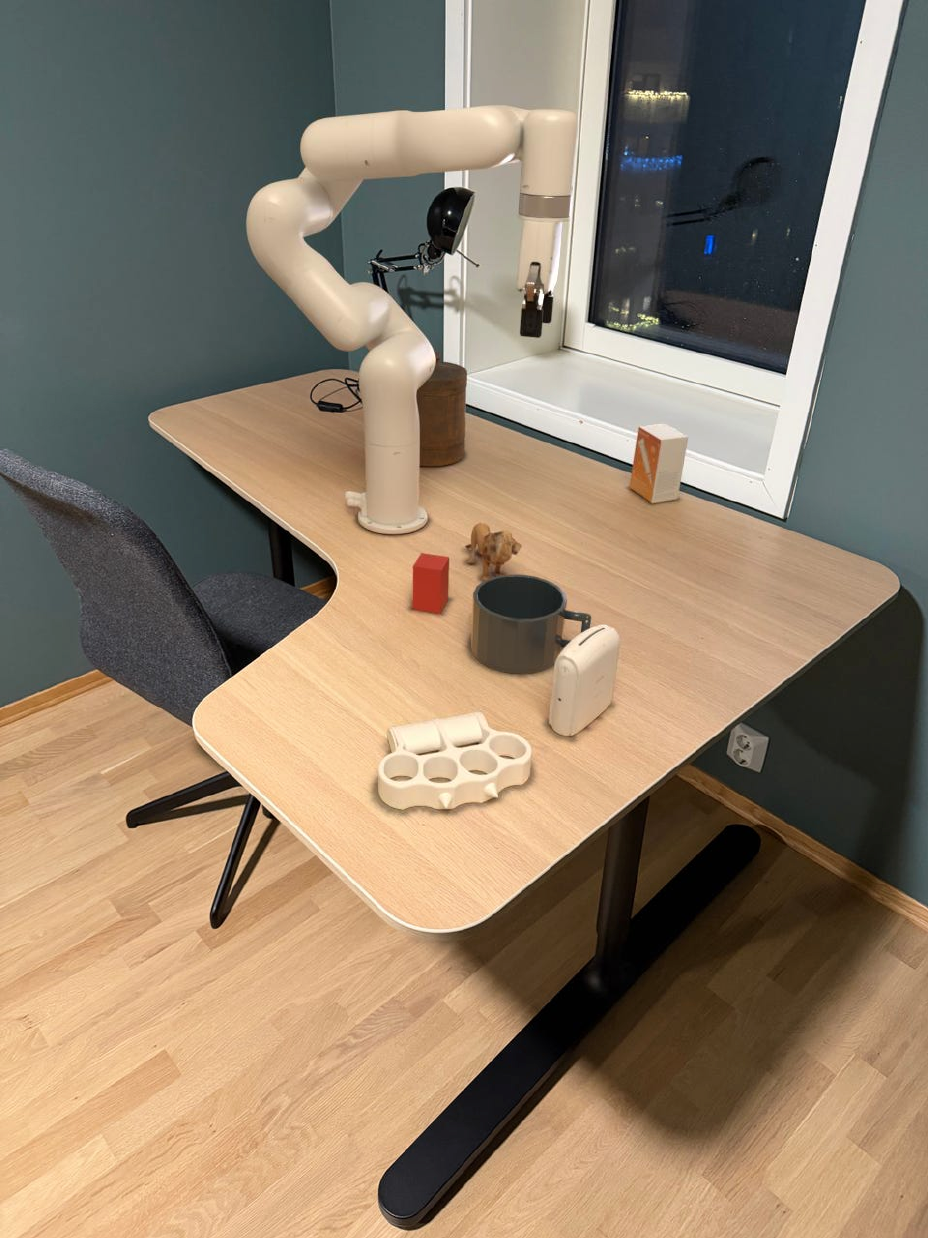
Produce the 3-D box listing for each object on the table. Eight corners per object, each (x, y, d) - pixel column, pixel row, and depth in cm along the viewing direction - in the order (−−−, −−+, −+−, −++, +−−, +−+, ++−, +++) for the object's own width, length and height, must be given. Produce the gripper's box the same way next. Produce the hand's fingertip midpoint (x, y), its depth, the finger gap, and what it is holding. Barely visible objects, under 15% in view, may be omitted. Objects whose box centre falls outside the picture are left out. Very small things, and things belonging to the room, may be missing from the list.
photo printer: (571, 742, 107) (581, 658, 101) (542, 727, 110) (551, 644, 103) (615, 705, 114) (628, 624, 108) (588, 691, 117) (598, 611, 110)
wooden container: (477, 452, 191) (481, 349, 179) (439, 472, 180) (441, 364, 169) (420, 437, 197) (422, 337, 186) (381, 456, 187) (379, 351, 175)
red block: (412, 609, 133) (412, 565, 129) (420, 595, 137) (421, 552, 133) (440, 614, 132) (441, 570, 128) (448, 600, 136) (449, 556, 132)
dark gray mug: (461, 665, 121) (463, 612, 116) (482, 618, 132) (485, 568, 127) (579, 685, 118) (586, 632, 113) (591, 636, 128) (598, 585, 124)
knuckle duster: (501, 720, 111) (547, 798, 99) (360, 747, 105) (392, 832, 94) (502, 699, 109) (549, 775, 97) (360, 724, 104) (391, 808, 92)
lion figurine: (522, 584, 141) (526, 534, 136) (493, 591, 139) (497, 540, 134) (478, 547, 152) (480, 498, 147) (451, 552, 150) (452, 504, 145)
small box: (628, 488, 176) (637, 425, 170) (655, 484, 179) (665, 422, 172) (651, 504, 170) (661, 439, 163) (678, 499, 172) (689, 436, 166)
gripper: (529, 200, 135) (522, 315, 144) (507, 212, 120) (501, 340, 129) (578, 203, 133) (567, 319, 142) (562, 216, 119) (551, 344, 128)
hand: (535, 329), depth 136 cm, fingers open, 9 cm apart
